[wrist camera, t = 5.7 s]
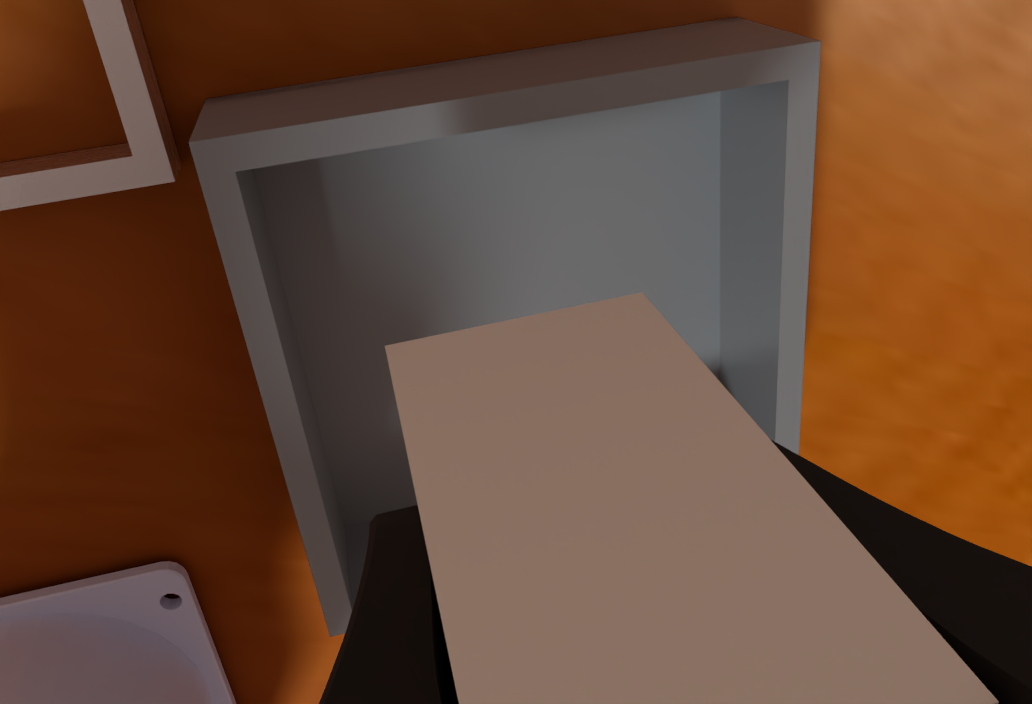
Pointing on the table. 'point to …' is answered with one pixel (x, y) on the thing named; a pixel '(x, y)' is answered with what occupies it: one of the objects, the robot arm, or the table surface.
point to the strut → (638, 530)
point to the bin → (507, 233)
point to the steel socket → (140, 113)
